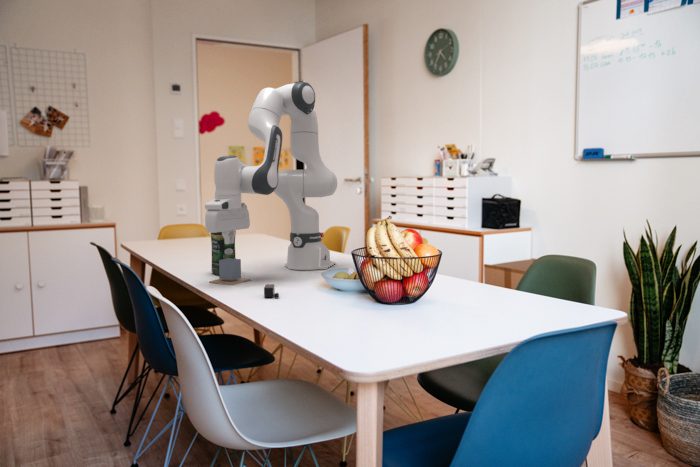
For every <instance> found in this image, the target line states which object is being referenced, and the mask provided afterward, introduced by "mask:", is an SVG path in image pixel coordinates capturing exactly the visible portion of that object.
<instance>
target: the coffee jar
mask: <svg viewBox="0 0 700 467" xmlns="http://www.w3.org/2000/svg"><path fill="white" fill-rule="evenodd" d="M229 234H230V233H229ZM229 234H228V235H229ZM210 240H211V241H210V242H211V273H212V274H215V275H216V276H217V275H218V276H219V260H223V259H228V258H231V259H237V257H236V236H235V237H234V243H233V244H225V241H224V238H223V236H222V232H217V233H210Z"/></svg>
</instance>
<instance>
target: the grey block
mask: <svg viewBox="0 0 700 467" xmlns="http://www.w3.org/2000/svg"><path fill="white" fill-rule="evenodd" d="M241 262H242V260H241V258H236V259H231V258H228V259H223V260H219V275H218V277H219V278H218V279H222V280H235V279H239V278H242V263H241Z"/></svg>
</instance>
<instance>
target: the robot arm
mask: <svg viewBox="0 0 700 467" xmlns="http://www.w3.org/2000/svg"><path fill="white" fill-rule="evenodd" d="M315 104H316V93H315V90H314V88H313V86H312V85H311V84H310V83H309V82H306V81H305V82H304V81H297V82H295V83H294V82H293V83H287V84H284V85H282V86H278V87H277V88H274V87H270V86H269V87H264V88H263V89H261V90H260V91H259V93H258V95H257V96H256V98H255V100H254V101H253V104H252V106H251V107H252V108H251V110H250V113H249V116H248V120H247V127H248V130H249V131H250V133H251V134H252V135H253V136H254V137H255V138H257V139H258V140H260V141H262V142H265V146H264V148H265V149H264V154H263V158H262V159H263V161H262V162H261V163H260V164H259V165H247V164H244V163H243V162H242V161H240V159H239V157H238V156H237V155H223V156H220V157H217V159H216V160H215V163H214V170H213V171H214V173H213V174H214V176H213V179H214V185H215V190H214V198H212V199H211V200H210V201H207V202H206V203H205V204H204V209H205V210H206V211H205V214H204V216H205V217H204V222H205V225H204V226H205V227H204V228H205V231H206V233H210V234H211V233H217V232H222V236H223V238H224V241H225V244H233V243H234V237H235V238H236V234H237V230H246V229H249V227H250V225H251V222H250V220H251V219H250V212H249V209H248V206H247V204H246V203H245V202H242V194H255V195H256V194H258V195H264V196H269V195H271V194H272V193H273V192H274V194H275V195H276V196H277V197H278V198H280V199H281V200H282V202H284V203H285V205H286V207H287V209H288V212H289V213H288V214H289V218H290V233H289V241H290V244H289V245H288V248H287V256H286V257H287V259H286V260H287V261H286V263H284V267H285V268H287V269H288V270H295V271H313V270H315V271H316V270H327V269H329V268H331V267H333V266H335V265H336V264H337V262H336V261H333V260H331V255H330V250H329V248H328V247H327V246H326V245H325V244H324V243H323V242H322V238H324V237H325V234H324V232H320V218H319V217H320V216H319V213H318V211H317V210H316V209H315V208H313V207H312V206H309V205H307V204H306V203H305V202H304V199H305V198H324V197H329V196H333V195H334V193H335V192H336V191H337V188H338V179H337V176H336V175H335V173H334V172H333V171H332V170H330V168H328V167H327V166H326V165H325V163H324V162H323V160H322V157H321V154H320V145H319V124H318V117H317V112H316V111H315V110H314V108H315ZM283 116H289V118H290V130H289V132H290V133H289V134H290V136H289V139H290V141H289V143H290V144H289V145H290V147H289V148H290V152H289V153H290V155H291V156H292V157H293V158H294V159H296V160H297V161H299V162H302V164H305V166H306V168H305V169H284V170H280V171H279V168H280V167H279V166H280V159H281V154H282V146H283V131H282V130H281V128H280V122H281V118H282V117H283ZM229 233H230V234H229ZM228 234H229V235H228ZM335 263H336V264H335ZM334 264H335V265H334ZM332 265H333V266H332ZM330 266H331V267H330ZM328 267H329V268H328Z"/></svg>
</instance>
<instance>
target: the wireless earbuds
mask: <svg viewBox="0 0 700 467" xmlns="http://www.w3.org/2000/svg"><path fill="white" fill-rule="evenodd" d="M263 295H264V296H263V297H264V298H265V299H272V298H273V297H274V298H275V299H277V298H279V297H280V296H279V295H280V293H278V292H276V293H275V284H274V283H272V284H271V283H270V284H269V283H267V284H265V285H264V287H263Z"/></svg>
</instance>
